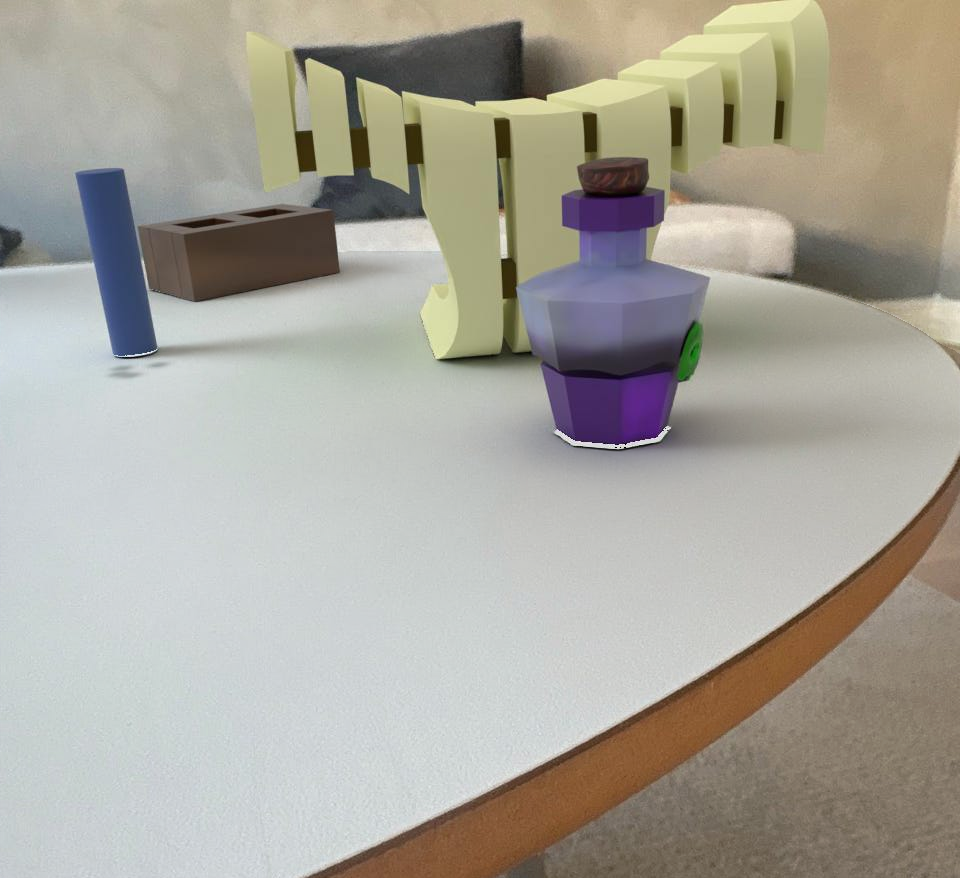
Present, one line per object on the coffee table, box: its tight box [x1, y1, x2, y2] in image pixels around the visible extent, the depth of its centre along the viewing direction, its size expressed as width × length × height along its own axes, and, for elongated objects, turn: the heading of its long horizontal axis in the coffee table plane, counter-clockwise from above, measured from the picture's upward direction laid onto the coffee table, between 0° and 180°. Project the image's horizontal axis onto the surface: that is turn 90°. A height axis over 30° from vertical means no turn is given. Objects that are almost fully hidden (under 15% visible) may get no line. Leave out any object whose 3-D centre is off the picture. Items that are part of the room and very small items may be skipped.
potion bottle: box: [516, 157, 711, 448], centre depth 49 cm, size 9×9×12 cm
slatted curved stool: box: [245, 0, 831, 360], centre depth 65 cm, size 30×16×18 cm, turn 97°
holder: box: [137, 203, 341, 303], centre depth 89 cm, size 8×14×5 cm, turn 131°
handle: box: [75, 167, 159, 356], centre depth 68 cm, size 3×3×11 cm
